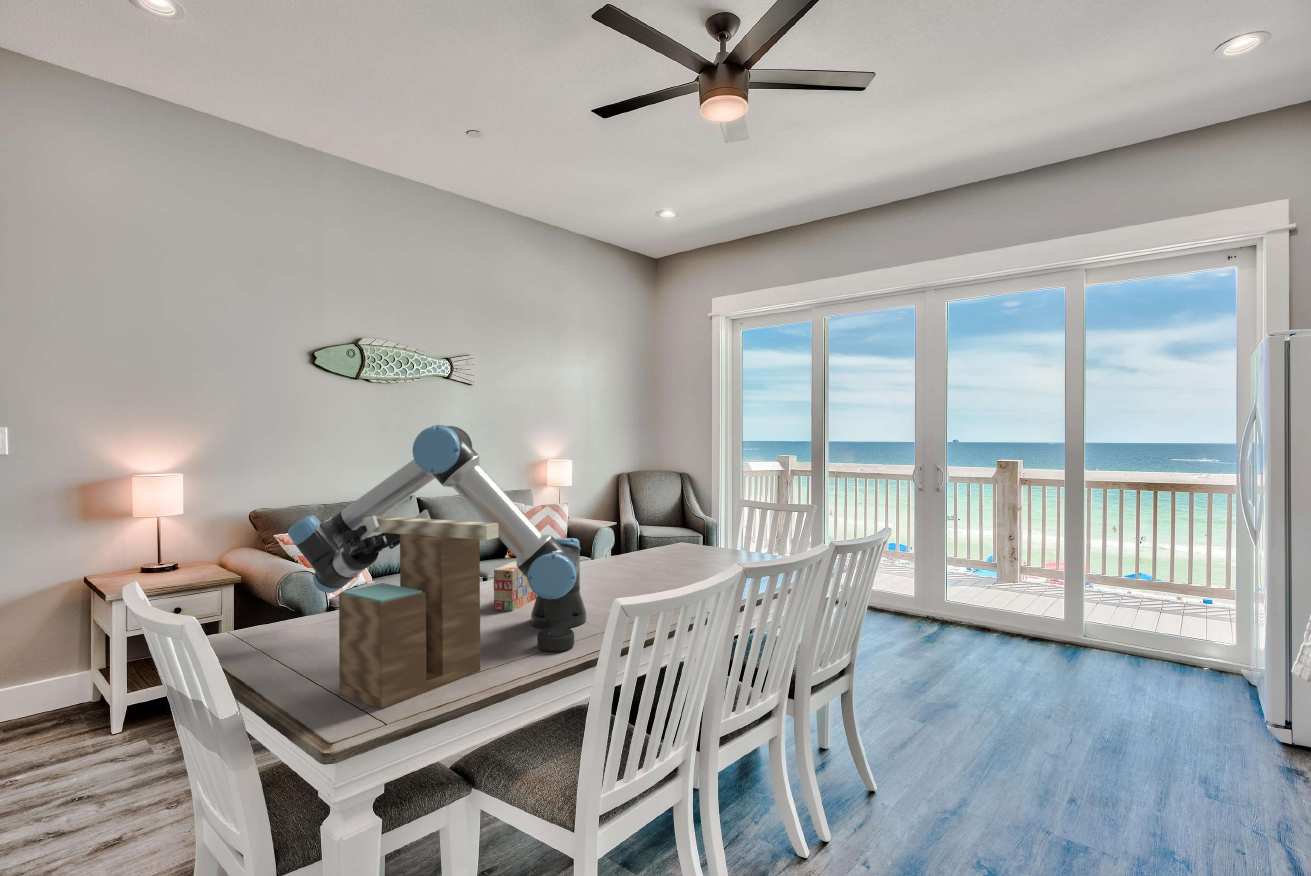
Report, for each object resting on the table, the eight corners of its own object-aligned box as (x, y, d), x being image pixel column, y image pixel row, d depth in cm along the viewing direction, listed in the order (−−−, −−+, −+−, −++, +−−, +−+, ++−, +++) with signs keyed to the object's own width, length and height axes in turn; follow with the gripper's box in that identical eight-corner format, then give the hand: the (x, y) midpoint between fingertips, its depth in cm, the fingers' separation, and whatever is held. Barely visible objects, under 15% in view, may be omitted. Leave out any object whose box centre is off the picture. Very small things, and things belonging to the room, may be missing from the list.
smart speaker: (532, 645, 161) (532, 629, 161) (566, 639, 166) (566, 623, 166) (545, 656, 154) (544, 638, 154) (580, 649, 158) (580, 633, 158)
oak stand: (339, 693, 131) (338, 543, 131) (438, 658, 151) (437, 529, 151) (381, 709, 124) (380, 550, 124) (480, 670, 144) (479, 534, 144)
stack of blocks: (527, 593, 214) (527, 555, 214) (545, 594, 212) (544, 556, 212) (493, 610, 194) (493, 568, 194) (512, 611, 192) (512, 569, 192)
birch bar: (363, 531, 148) (363, 517, 148) (376, 528, 152) (376, 515, 152) (486, 540, 135) (486, 525, 135) (498, 537, 139) (498, 523, 139)
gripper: (405, 561, 170) (452, 526, 160) (310, 580, 149) (356, 540, 139) (396, 535, 172) (442, 498, 162) (301, 549, 151) (346, 508, 141)
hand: (402, 517), depth 150 cm, fingers open, 13 cm apart
